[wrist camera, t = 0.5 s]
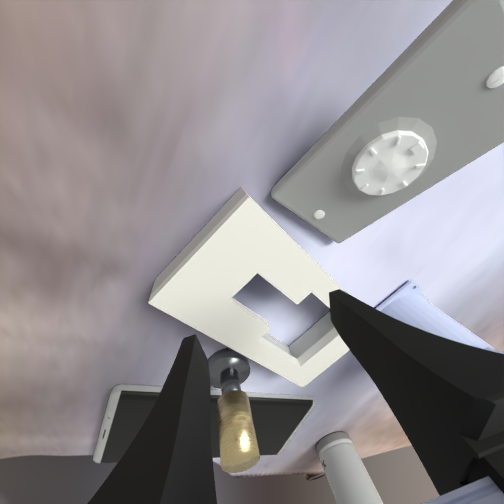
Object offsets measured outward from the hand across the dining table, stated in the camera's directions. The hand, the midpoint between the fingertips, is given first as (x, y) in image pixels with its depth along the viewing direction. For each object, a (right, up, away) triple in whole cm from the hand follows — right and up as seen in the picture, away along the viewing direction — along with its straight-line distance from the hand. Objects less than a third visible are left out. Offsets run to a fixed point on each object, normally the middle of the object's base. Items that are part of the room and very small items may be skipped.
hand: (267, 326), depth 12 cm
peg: (-4, -9, +15) cm, 18 cm away
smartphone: (-6, -19, +20) cm, 29 cm away
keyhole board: (+1, 0, +12) cm, 12 cm away
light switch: (+8, +12, +8) cm, 16 cm away
